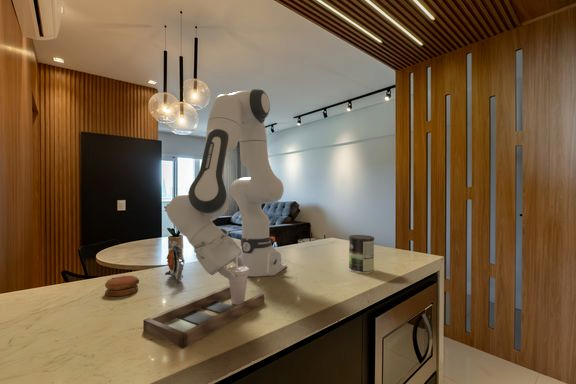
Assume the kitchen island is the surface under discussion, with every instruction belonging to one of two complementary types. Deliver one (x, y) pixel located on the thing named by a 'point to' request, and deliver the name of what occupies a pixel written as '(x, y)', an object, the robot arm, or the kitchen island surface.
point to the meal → (175, 261)
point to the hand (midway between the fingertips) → (239, 274)
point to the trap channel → (197, 318)
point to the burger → (121, 286)
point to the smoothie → (238, 283)
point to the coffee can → (361, 253)
